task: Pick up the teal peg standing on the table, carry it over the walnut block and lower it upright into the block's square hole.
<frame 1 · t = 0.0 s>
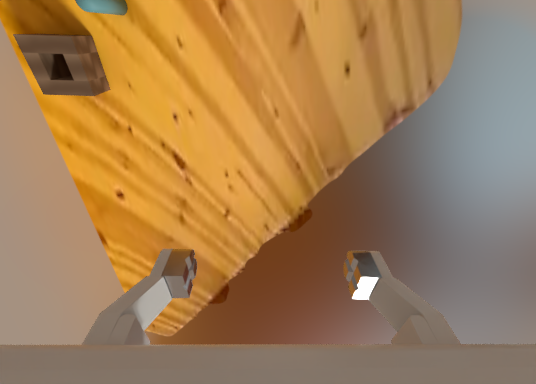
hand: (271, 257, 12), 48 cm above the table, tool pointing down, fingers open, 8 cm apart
walnut hole block: (77, 63, 48), on the table
teal peg: (118, 5, 43), on the table
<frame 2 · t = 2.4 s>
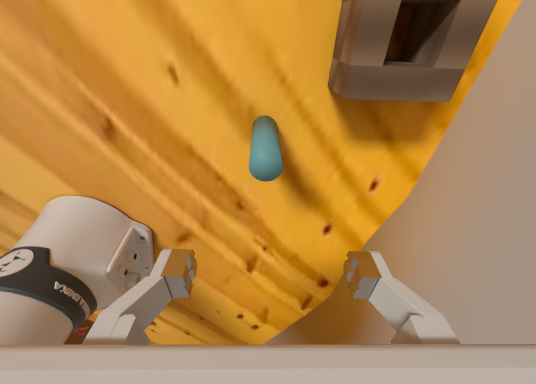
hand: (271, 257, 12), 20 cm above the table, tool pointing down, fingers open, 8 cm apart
walnut hole block: (385, 34, 23), on the table
teal peg: (264, 127, 28), on the table
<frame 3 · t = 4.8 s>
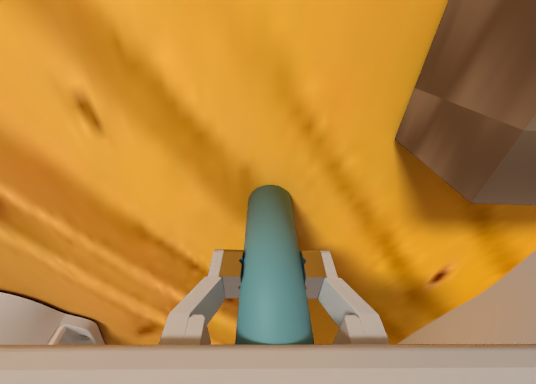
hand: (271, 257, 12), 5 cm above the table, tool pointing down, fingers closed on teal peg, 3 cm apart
teal peg: (269, 202, 16), on the table, touching gripper
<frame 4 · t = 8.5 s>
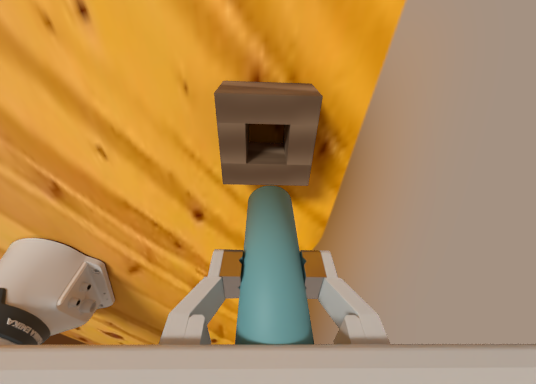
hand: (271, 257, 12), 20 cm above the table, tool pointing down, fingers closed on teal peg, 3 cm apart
walnut hole block: (266, 125, 29), on the table
teal peg: (269, 203, 16), point 16 cm above the table, touching gripper
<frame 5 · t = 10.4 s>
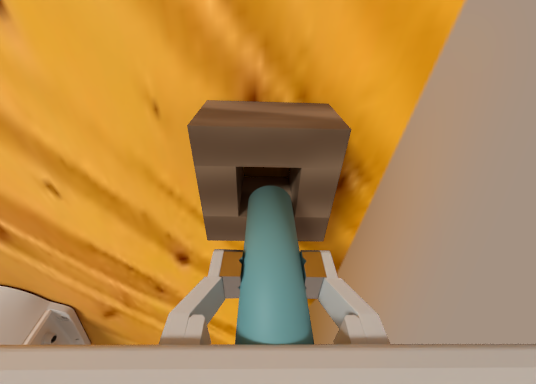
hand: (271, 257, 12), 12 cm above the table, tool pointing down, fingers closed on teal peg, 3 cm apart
walnut hole block: (266, 156, 22), on the table
teal peg: (269, 203, 16), point 7 cm above the table, touching gripper
when the fingers open (7 cm above the table, at t = 12.1 s): teal peg drops 2 cm, resting in walnut hole block.
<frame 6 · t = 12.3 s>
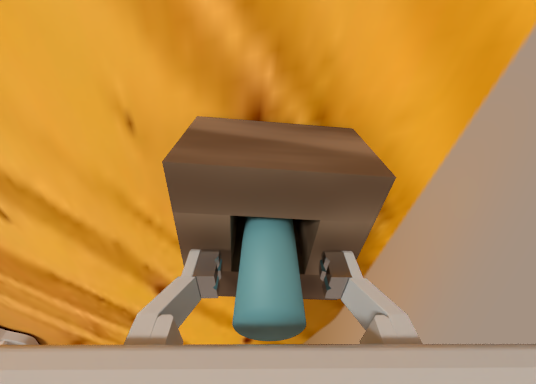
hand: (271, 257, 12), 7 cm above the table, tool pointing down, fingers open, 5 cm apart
walnut hole block: (269, 187, 17), on the table
teal peg: (268, 187, 17), resting in walnut hole block
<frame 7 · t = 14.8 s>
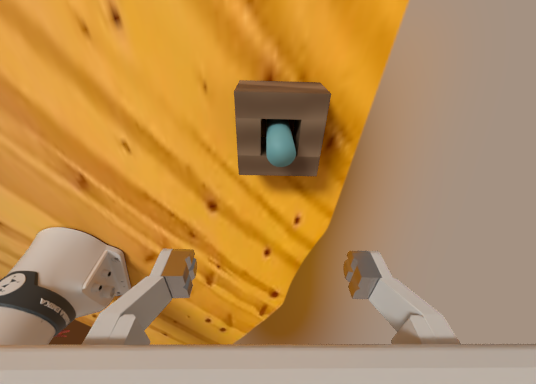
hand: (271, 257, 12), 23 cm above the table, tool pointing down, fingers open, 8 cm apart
walnut hole block: (277, 121, 31), on the table
teal peg: (277, 121, 31), resting in walnut hole block
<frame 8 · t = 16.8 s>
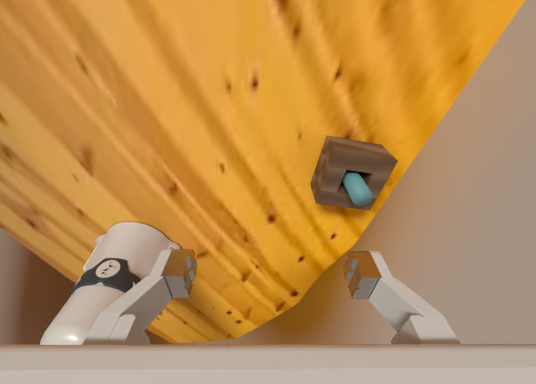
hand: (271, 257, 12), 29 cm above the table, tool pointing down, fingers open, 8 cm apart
walnut hole block: (343, 165, 42), on the table
teal peg: (343, 165, 42), resting in walnut hole block
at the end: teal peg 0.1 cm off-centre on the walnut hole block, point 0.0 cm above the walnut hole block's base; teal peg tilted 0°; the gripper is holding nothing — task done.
